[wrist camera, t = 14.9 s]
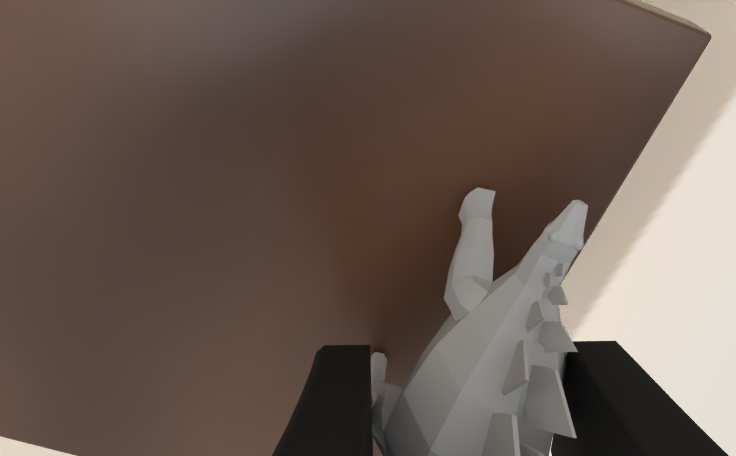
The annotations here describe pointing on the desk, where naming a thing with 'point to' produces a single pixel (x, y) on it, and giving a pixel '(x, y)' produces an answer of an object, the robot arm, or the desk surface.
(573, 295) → the desk surface
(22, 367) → the lid
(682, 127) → the desk surface
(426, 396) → the stegosaurus
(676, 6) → the desk surface
